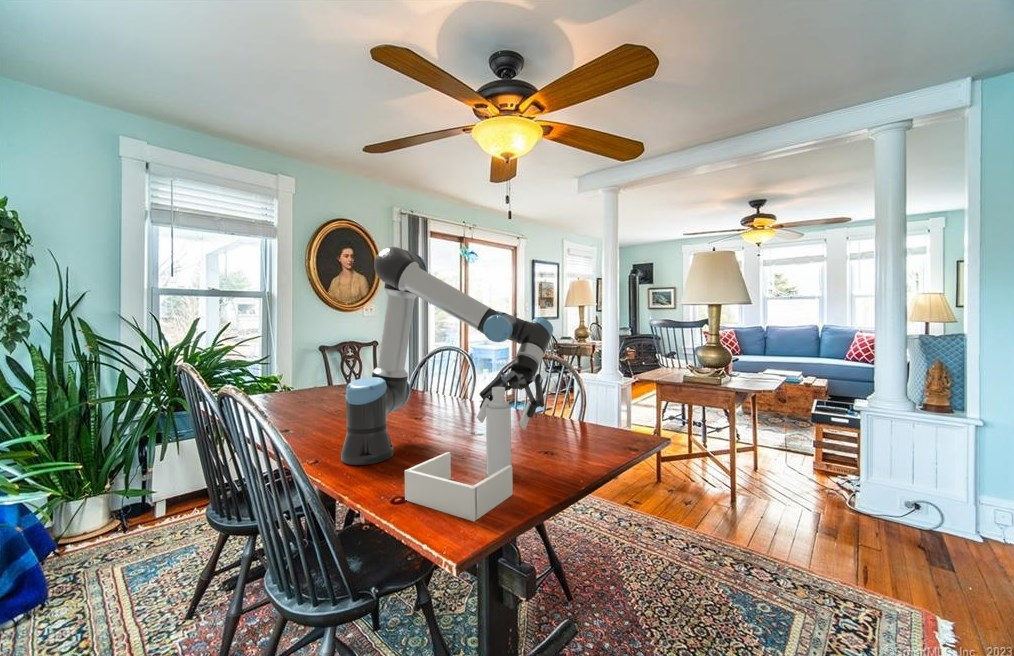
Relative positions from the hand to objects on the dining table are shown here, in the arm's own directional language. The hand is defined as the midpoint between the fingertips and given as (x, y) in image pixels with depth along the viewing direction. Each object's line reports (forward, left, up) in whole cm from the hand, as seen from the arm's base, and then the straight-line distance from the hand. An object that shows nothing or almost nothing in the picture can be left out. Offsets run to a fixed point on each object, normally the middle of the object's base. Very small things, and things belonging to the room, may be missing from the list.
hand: (500, 423), depth 115 cm
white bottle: (0, 0, -14) cm, 14 cm away
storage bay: (0, -17, -14) cm, 22 cm away
